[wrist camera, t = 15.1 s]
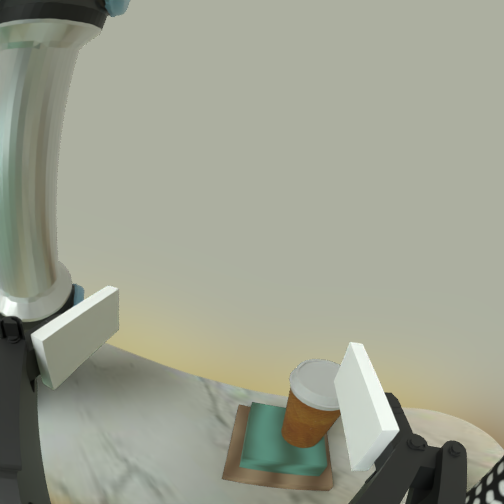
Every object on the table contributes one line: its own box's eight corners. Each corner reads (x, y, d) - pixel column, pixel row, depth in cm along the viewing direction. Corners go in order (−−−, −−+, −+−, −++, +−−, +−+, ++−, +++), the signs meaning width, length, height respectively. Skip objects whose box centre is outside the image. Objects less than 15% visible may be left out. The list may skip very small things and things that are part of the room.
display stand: (221, 478, 30) (226, 463, 29) (237, 409, 45) (242, 392, 44) (329, 490, 29) (341, 476, 28) (322, 422, 44) (330, 406, 43)
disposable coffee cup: (265, 448, 32) (288, 391, 30) (276, 407, 42) (295, 351, 39) (329, 460, 31) (363, 405, 28) (330, 419, 40) (357, 364, 37)
